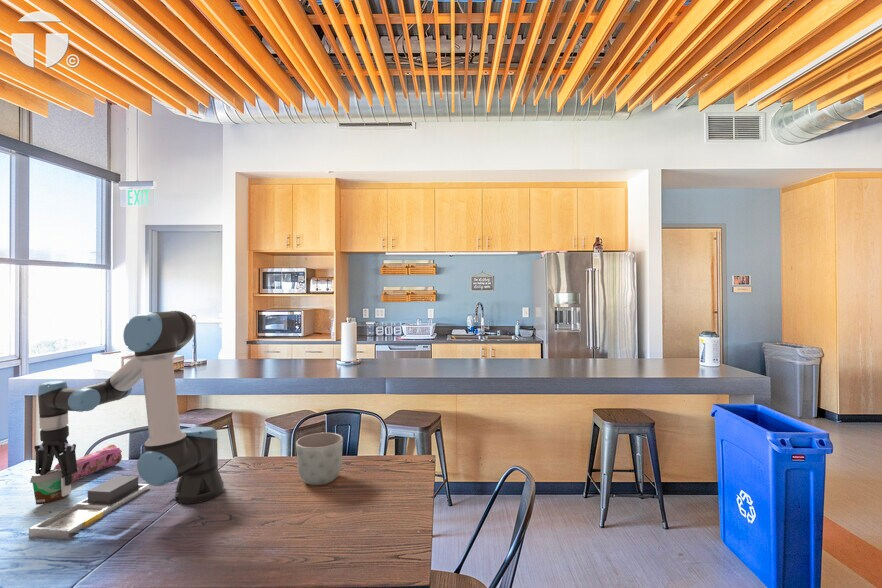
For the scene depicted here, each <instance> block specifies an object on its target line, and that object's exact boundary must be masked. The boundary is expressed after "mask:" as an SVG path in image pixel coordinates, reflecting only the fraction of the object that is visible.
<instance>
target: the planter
mask: <svg viewBox="0 0 882 588" xmlns="http://www.w3.org/2000/svg"><path fill="white" fill-rule="evenodd" d="M343 442H344V437H343V436H342V435H341V434H339V433H335V432H316V433H311V434H307V435H304V436H302V437H299V438H298V439H297V440H296V441H295V448H296V449H295V450H296V460H297V470H298V475H299V476H300V479H301V480H302V481H303V482H304V483H305V484H307V485H309V486H310V485H311V486H323V485H327V484H330V483H331V482H333V481H334V480H335V479H337V478H338V476H339V475H340V472H341V470H342V469H341V468H342V465H343V464H342V463H343V462H342V461H343V445H344V443H343Z"/></svg>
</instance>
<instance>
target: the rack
mask: <svg viewBox="0 0 882 588" xmlns="http://www.w3.org/2000/svg"><path fill="white" fill-rule="evenodd" d="M149 489H150V484H148V483H138V489H137V490H136V491H134V492H132V493H130V494H129V495H127V496H125V497H123V498H122V499H120V500H118V501H116V502H115V503H113V504H96V503H88V497H86V498H85V499H83V500H80V501H79V502H77V503H75V504H73V505H71V506H69V507H67V508H65V509H63V510H61V511H60V512H58V513H56V514H54V515H52V516H50V517H47V518H45V519H44V520H42V521H40V522H38V523H36V524H35V525H33V526H31V527H29V528H28V536H29V538H38V539H39V538H41V539H42V538H43V539H54V540H55V539H57V540H71V539H72V538H73V537H75V536H77V535H79V534H80V532H78V531H80V530H81V529H84V528H86V527H88V526H90V525H91V524H93V523H95V522H96V521H97V522H98V520H100V519H103V516H106V515H107V514H109V513H111V512H112V511H114V510H116V509H117V508H119V507H120V506H122V505H124V504H125V503H128V502H129V501H131V500H132V499H134V498H136V497H137V496H140V495H141V494H142V493H144V492H146V491H147V490H149Z"/></svg>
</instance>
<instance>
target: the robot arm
mask: <svg viewBox="0 0 882 588" xmlns="http://www.w3.org/2000/svg"><path fill="white" fill-rule="evenodd" d="M195 332H196V325H195V322H194V319H193V318H192V317H191V316H190V315H188V314H187V313H186V312H183V311H181V310H170V311H167V310H166V311H155V312H151V311H150V312H146V313H145V312H144V313H140V314H136V315H134V316H132V317H131V318H130V320H129V321H127V323H126V325H125V326H124V329H123V334H122V335H123V342H124V344H125V346H126V347H127V349H128V350H130V351H131V352H134V356H133V357H131V359H129V360H128V361H127V362H126V363H125V364H123V365H122V366H121V367H120V368H119V369H118V370H117V371H116V372H115V373H113V374H112V375H111V376H110V377H108V379H106V380H105V381H102V382H98V383H94V384H90V385H89V384H88V385H85V386H81V387H68V383H67V381H65V380H51V381H47V382H43V383H41V384H39V385H38V388H37V389H38V391H37V393H38V394H37V398H38V399H37V400H38V401H37V402H38V415H39V417H38V419H39V420H38V421H39V429H40V431H39V439H40V442H41V443H39V444H36V445H34V451H35V471H34V473H35V474H36V475H39V476H40V475H42V474H44V473H46V472H48V471H50V470H52V466H53V462H54V458H55V459H57V461H58V463H59V465H60V468H61V471H62V474H63V476H62V477H61V491H62V496H63V497H64V496H66V495H67V496H69V495H70V494H72V486H71V485H72V483H73V482H72V474H74V473H76V472H77V463H76V460H77V457H76V456H77V455H76V447H77V444H76V443H73V444H70V443H69V441H68V437H69V435H70V428H69V425H68V424H69V412H80V413H83V412H90V411H93V410H94V409H96V408H97V407H98V406H101V405H104V404H107V403H112V402H115V401H119V400H123V399H125V398H127V397H129V396H130V394H132V390H133V387H135V385H136V384H137V383H138V382H139V381H141V380H142V379H143V390H144V400H145V409H146V416H147V417H146V418H147V427H148V428H147V429H148V435H149V436H148V438H147V440H146V441H145V442H144V452H143V453H142V454H141V455H140V456H139V458H138V459H137V464H136V467H137V472H138V474H139V476H140V478H141V479H142V480H143V481H145V482H146V484H149V486H153V487H162V486H165V485H167V484H169V483H173V482H175V481H176V480H177V479H178V478H179V479H178V483H177V485H176V488H175V492H174V500H175V501H176V503H179V504H187V505H189V504H198V503H203V502H206V501H209V500H212V499H214V498H217V497H218V496H220V495H221V494H222V493H223V492H224V489H225V487H224V486H225V485H224V481H223V479H222V476H221V473H220V471H219V467H218V465H219V463H218V457H219V456H218V439H219V438H218V431H217V430H216V428H214V427H211V426H194V427H193V426H192V427H188V428H184V429H181V423H180V414H179V405H178V396H177V385H176V377H175V376H176V375H175V367H174V357H175V355H176V354H177V353H178V351H180V350H182V349H183V348H184V347H185V346H186V345H187V344H188V343H190V341H192V339H193V337H194V335H195ZM67 471H68V472H67ZM67 496H66V497H67Z"/></svg>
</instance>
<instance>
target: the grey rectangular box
mask: <svg viewBox="0 0 882 588" xmlns="http://www.w3.org/2000/svg"><path fill="white" fill-rule="evenodd" d="M138 484H139V476H131V475H117V476H115V477H112V478H110V479H108V480H106V481H103V482H102V483H100V484H98V485H96V486H94V487H93V488H91V489H88V490H87V498H88V503H96V504H113V503H115V502H116V501H118V500H120V499H122V498H123V497H125V496H127V495H129V494H130V493H132V492H134V491H136V490H137V489H138Z"/></svg>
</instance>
